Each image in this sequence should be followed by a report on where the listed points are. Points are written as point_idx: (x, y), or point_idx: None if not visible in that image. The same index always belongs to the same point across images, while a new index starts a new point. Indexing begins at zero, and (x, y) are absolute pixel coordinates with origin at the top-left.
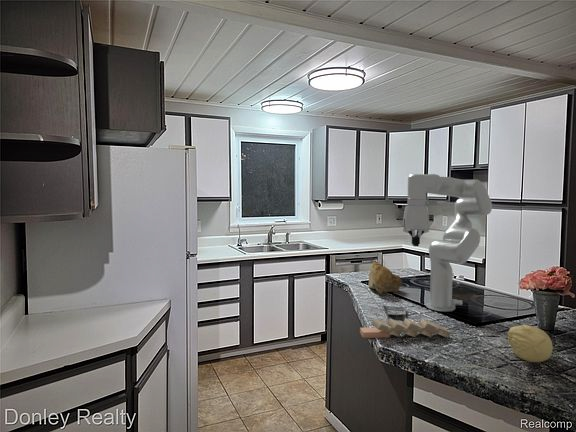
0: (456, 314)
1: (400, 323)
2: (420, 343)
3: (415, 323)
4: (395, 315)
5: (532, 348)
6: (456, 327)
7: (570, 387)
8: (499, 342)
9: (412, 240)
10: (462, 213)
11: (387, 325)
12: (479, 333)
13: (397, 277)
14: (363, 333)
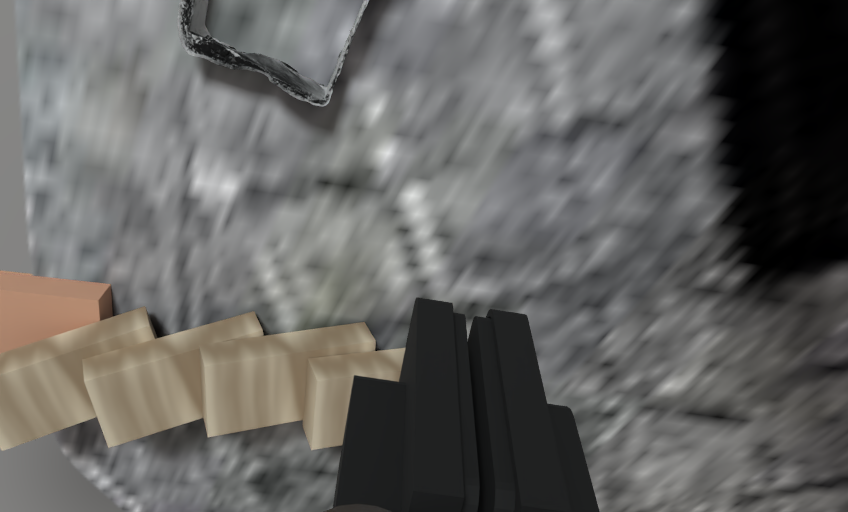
0: (812, 39)
1: (165, 383)
2: (263, 439)
3: (266, 392)
4: (252, 61)
5: None
6: (606, 280)
7: None
8: (678, 480)
9: (333, 506)
10: None
11: (69, 406)
12: (673, 377)
13: None
14: None
